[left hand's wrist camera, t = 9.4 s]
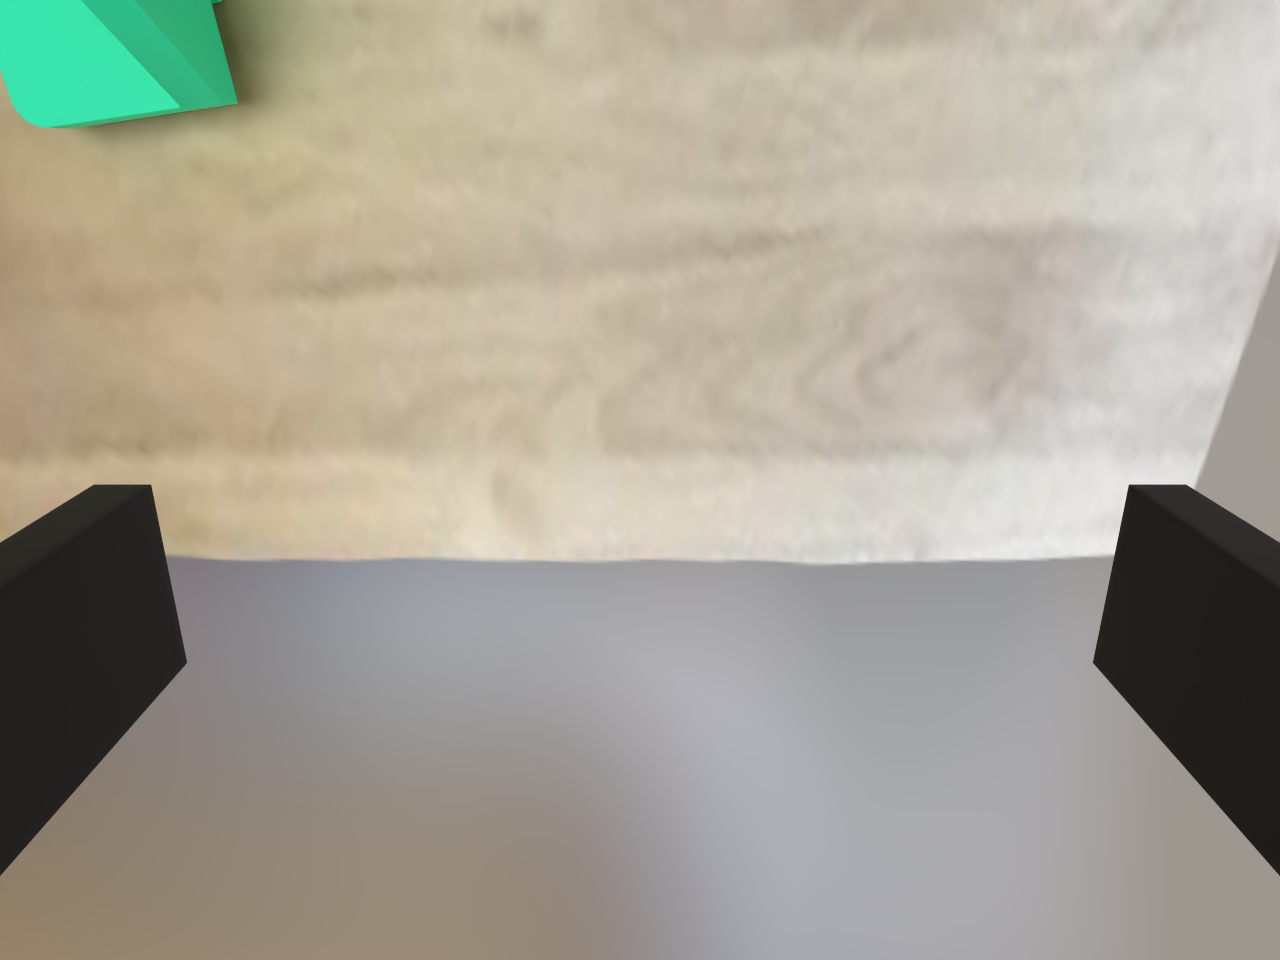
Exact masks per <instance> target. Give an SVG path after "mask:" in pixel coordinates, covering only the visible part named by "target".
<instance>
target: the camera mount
mask: <svg viewBox="0 0 1280 960" xmlns="http://www.w3.org/2000/svg"><path fill="white" fill-rule="evenodd" d="M218 2H223V1H222V0H0V69H1V72H2V75H3V78H4V81H5V84H6V86H7V89H8V92H9V95H10V98H11V101H12V103H13V105H14V107H15V109H16V110H17V112H18V113H19V114H20V115H21V116H22V117H23V118H24V119H25V120H26V121H28V122H29V123H31V124H33V125H36V126H39V127H47V128H68V129H73V128H80V127H87V126H93V125H100V124H106V123H113V122H120V121H126V120H133V119H139V118H146V117H153V116H159V115H166V114H172V113H179V112H186V111H192V110H199V109H205V108H212V107H219V106H225V105H232V104H238V101H237V97H236V93H235V90H234V86H233V82H232V78H231V75H230V71H229V67H228V63H227V60H226V56H225V52H224V48H223V45H222V41H221V37H220V33H219V30H218V26H217V22H216V18H215V15H214V11H213V7H212V3H218Z"/></svg>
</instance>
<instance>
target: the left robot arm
mask: <svg viewBox="0 0 1280 960" xmlns="http://www.w3.org/2000/svg"><path fill="white" fill-rule="evenodd" d="M186 663H187V660H186V655H185V650H184V645H183V640H182V635H181V631H180V626H179V621H178V616H177V611H176V606H175V601H174V596H173V591H172V586H171V581H170V576H169V571H168V566H167V561H166V556H165V551H164V546H163V541H162V537H161V532H160V527H159V522H158V517H157V512H156V507H155V502H154V497H153V492H152V487H151V485H93V486H91V487H89V488H88V489H86V490H85V491H83V492H81V493H80V494H78V495H77V496H75V497H73V498H72V499H70V500H68V501H67V502H65V503H64V504H62V505H60V506H59V507H57V508H56V509H54V510H52V511H51V512H49V513H47V514H46V515H44V516H43V517H41V518H39V519H38V520H36V521H35V522H33V523H31V524H30V525H28V526H26V527H25V528H23V529H22V530H20V531H18V532H17V533H15V534H14V535H12V536H10V537H9V538H7V539H6V540H4V541H2V542H1V543H0V875H1V874H2V873H3V872H4V871H5V870H6V869H7V867H8V866H9V865H10V864H11V863H12V862H13V861H14V859H15V858H16V857H17V856H18V855H19V854H20V853H21V851H22V850H23V849H24V848H25V847H26V846H27V845H28V844H29V842H30V841H31V840H32V839H33V838H34V837H35V836H36V834H37V833H38V832H39V831H40V830H41V829H42V828H43V826H44V825H45V824H46V823H47V822H48V821H49V820H50V818H51V817H52V816H53V815H54V814H55V813H56V812H57V810H58V809H59V808H60V807H61V806H62V805H63V804H64V802H65V801H66V800H67V799H68V798H69V797H70V796H71V794H72V793H73V792H74V791H75V790H76V789H77V788H78V787H79V785H80V784H81V783H82V782H83V781H84V780H85V778H86V777H87V776H88V775H89V774H90V773H91V772H92V771H93V769H94V768H95V767H96V766H97V765H98V764H99V763H100V761H101V760H102V759H103V758H104V757H105V756H106V755H107V753H108V752H109V751H110V750H111V749H112V748H113V747H114V745H115V744H116V743H117V742H118V741H119V740H120V739H121V737H122V736H123V735H124V734H125V733H126V732H127V731H128V729H129V728H130V727H131V726H132V725H133V724H134V723H135V721H136V720H137V719H138V718H139V717H140V716H141V715H142V714H143V712H144V711H145V710H146V709H147V708H148V707H149V706H150V704H151V703H152V702H153V701H154V700H155V699H156V698H157V696H158V695H159V694H160V693H161V692H162V691H163V690H164V688H165V687H166V686H167V685H168V684H169V683H170V682H171V680H172V679H173V678H174V677H175V676H176V675H177V674H178V672H179V671H180V670H181V669H182V668H183V667H184V666H185V664H186ZM1093 663H1094V664H1095V666H1096V667H1097V668H1098V669H1099V670H1100V671H1101V672H1102V674H1103V675H1104V676H1105V677H1106V678H1107V679H1108V680H1109V682H1110V683H1111V684H1112V685H1113V686H1114V687H1115V688H1116V690H1117V691H1118V692H1119V693H1120V694H1121V695H1122V696H1123V697H1124V699H1125V700H1126V701H1127V702H1128V703H1129V704H1130V706H1131V707H1132V708H1133V709H1134V710H1135V711H1136V712H1137V714H1138V715H1139V716H1140V717H1141V718H1142V719H1143V720H1144V722H1145V723H1146V724H1147V725H1148V726H1149V727H1150V728H1151V729H1152V731H1153V732H1154V733H1155V734H1156V735H1157V736H1158V737H1159V739H1160V740H1161V741H1162V742H1163V743H1164V744H1165V745H1166V747H1167V748H1168V749H1169V750H1170V751H1171V752H1172V753H1173V755H1174V756H1175V757H1176V758H1177V759H1178V760H1179V761H1180V763H1181V764H1182V765H1183V766H1184V767H1185V768H1186V769H1187V771H1188V772H1189V773H1190V774H1191V775H1192V776H1193V777H1194V779H1195V780H1196V781H1197V782H1198V783H1199V784H1200V785H1201V787H1202V788H1203V789H1204V790H1205V791H1206V792H1207V793H1208V794H1209V796H1210V797H1211V798H1212V799H1213V800H1214V801H1215V802H1216V804H1217V805H1218V806H1219V807H1220V808H1221V809H1222V810H1223V812H1224V813H1225V814H1226V815H1227V816H1228V817H1229V818H1230V820H1231V821H1232V822H1233V823H1234V824H1235V825H1236V826H1237V828H1238V829H1239V830H1240V831H1241V832H1242V833H1243V834H1244V836H1245V837H1246V838H1247V839H1248V840H1249V841H1250V842H1251V844H1252V845H1253V846H1254V847H1255V848H1256V849H1257V850H1258V851H1259V853H1260V854H1261V855H1262V856H1263V857H1264V858H1265V859H1266V861H1267V862H1268V863H1269V864H1270V865H1271V866H1272V867H1273V869H1274V870H1275V871H1276V872H1277V873H1278V874H1279V875H1280V543H1279V542H1278V541H1276V540H1274V539H1273V538H1271V537H1270V536H1268V535H1266V534H1265V533H1263V532H1262V531H1260V530H1258V529H1257V528H1255V527H1254V526H1252V525H1250V524H1249V523H1247V522H1245V521H1244V520H1242V519H1241V518H1239V517H1237V516H1236V515H1234V514H1233V513H1231V512H1229V511H1228V510H1226V509H1224V508H1223V507H1221V506H1220V505H1218V504H1216V503H1215V502H1213V501H1212V500H1210V499H1208V498H1207V497H1205V496H1203V495H1202V494H1200V493H1199V492H1197V491H1195V490H1194V489H1192V488H1191V487H1189V486H1187V485H1129V487H1128V492H1127V497H1126V502H1125V507H1124V512H1123V517H1122V522H1121V527H1120V532H1119V537H1118V541H1117V546H1116V551H1115V556H1114V561H1113V566H1112V571H1111V576H1110V581H1109V586H1108V591H1107V596H1106V601H1105V606H1104V611H1103V616H1102V621H1101V626H1100V630H1099V635H1098V640H1097V645H1096V650H1095V655H1094V660H1093Z"/></svg>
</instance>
